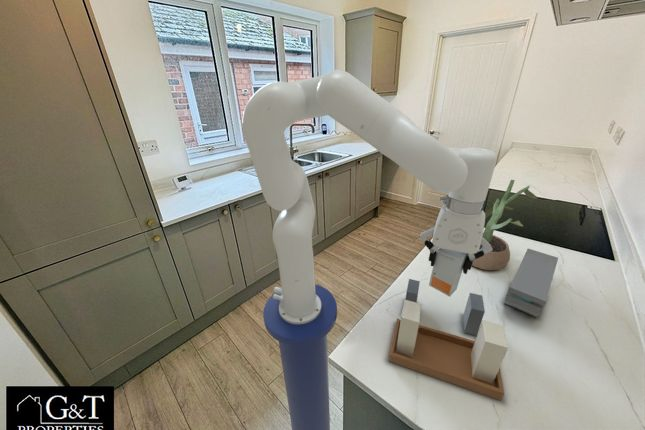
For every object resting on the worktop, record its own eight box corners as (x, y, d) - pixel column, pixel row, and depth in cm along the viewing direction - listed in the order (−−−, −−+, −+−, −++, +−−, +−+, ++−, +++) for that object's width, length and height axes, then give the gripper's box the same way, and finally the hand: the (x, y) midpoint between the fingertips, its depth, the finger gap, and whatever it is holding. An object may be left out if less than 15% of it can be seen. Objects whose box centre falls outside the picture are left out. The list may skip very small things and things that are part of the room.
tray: (388, 361, 64) (389, 354, 63) (396, 325, 73) (397, 318, 72) (500, 400, 55) (504, 393, 54) (493, 354, 65) (495, 347, 64)
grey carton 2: (464, 332, 70) (471, 308, 66) (462, 316, 75) (469, 292, 71) (476, 336, 69) (484, 311, 65) (474, 319, 74) (482, 295, 70)
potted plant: (496, 280, 88) (524, 199, 75) (447, 256, 102) (463, 183, 88) (525, 257, 100) (554, 182, 86) (477, 237, 113) (496, 170, 100)
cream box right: (472, 377, 59) (485, 341, 54) (470, 354, 64) (482, 319, 59) (492, 384, 58) (508, 347, 52) (489, 360, 63) (503, 325, 57)
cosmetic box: (428, 286, 71) (436, 249, 66) (435, 279, 74) (443, 243, 68) (450, 297, 67) (460, 259, 62) (457, 290, 70) (468, 252, 64)
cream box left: (395, 351, 65) (401, 317, 60) (399, 332, 70) (404, 299, 65) (412, 357, 64) (419, 322, 59) (415, 337, 69) (421, 303, 64)
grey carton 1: (403, 315, 76) (406, 292, 72) (405, 301, 81) (409, 278, 77) (413, 318, 75) (417, 294, 71) (415, 303, 80) (419, 281, 76)
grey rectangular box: (531, 331, 70) (546, 301, 65) (498, 316, 75) (509, 287, 70) (546, 284, 86) (558, 257, 81) (517, 274, 91) (527, 248, 86)
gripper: (422, 204, 59) (411, 267, 67) (512, 217, 53) (488, 285, 61) (425, 193, 66) (414, 251, 74) (505, 203, 59) (484, 266, 67)
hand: (448, 266), depth 67 cm, fingers closed on cosmetic box, 7 cm apart
